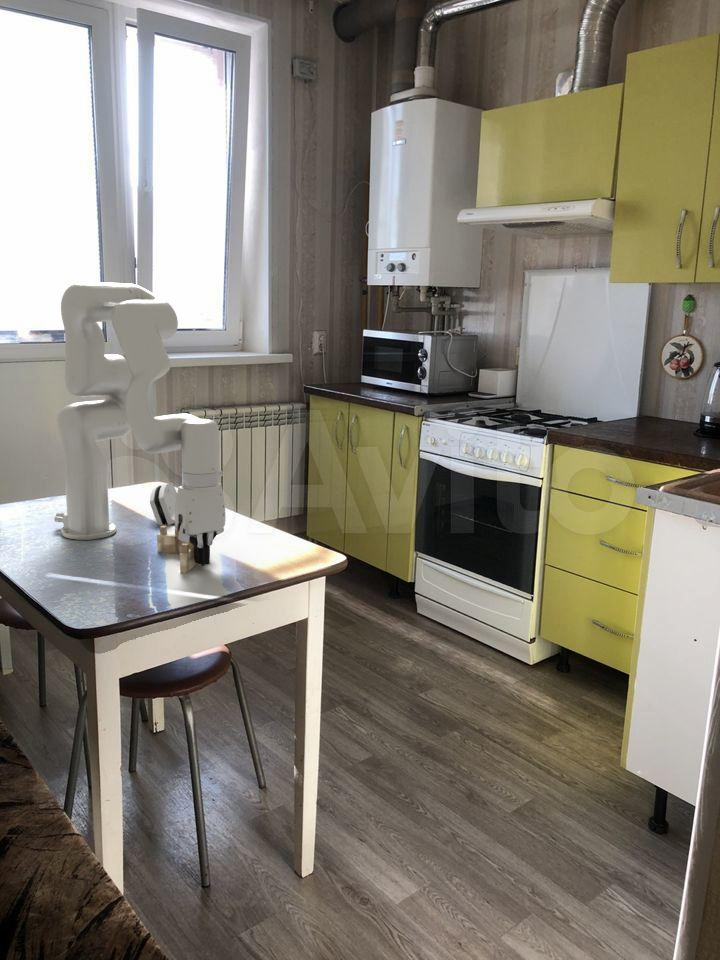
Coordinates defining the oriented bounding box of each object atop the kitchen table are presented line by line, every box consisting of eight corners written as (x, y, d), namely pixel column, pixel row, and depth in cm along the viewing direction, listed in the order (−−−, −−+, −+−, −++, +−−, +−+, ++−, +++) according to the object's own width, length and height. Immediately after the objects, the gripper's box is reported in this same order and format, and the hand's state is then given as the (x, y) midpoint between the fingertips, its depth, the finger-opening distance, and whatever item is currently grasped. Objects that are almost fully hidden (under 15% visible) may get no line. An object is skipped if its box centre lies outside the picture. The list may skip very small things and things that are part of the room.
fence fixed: (157, 552, 178) (156, 525, 176) (160, 550, 179) (159, 523, 178) (205, 559, 175) (205, 531, 174) (208, 556, 177) (208, 529, 175)
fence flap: (199, 557, 175) (198, 532, 174) (204, 558, 175) (203, 533, 173) (180, 572, 166) (179, 546, 164) (185, 573, 165) (185, 546, 164)
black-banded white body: (179, 528, 198) (164, 491, 196) (161, 533, 198) (146, 497, 196) (188, 509, 214) (175, 475, 212) (172, 515, 214) (158, 481, 212)
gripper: (219, 471, 172) (220, 551, 176) (159, 481, 161) (161, 566, 166) (240, 477, 167) (241, 560, 171) (179, 488, 156) (181, 576, 161)
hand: (202, 563), depth 168 cm, fingers closed
